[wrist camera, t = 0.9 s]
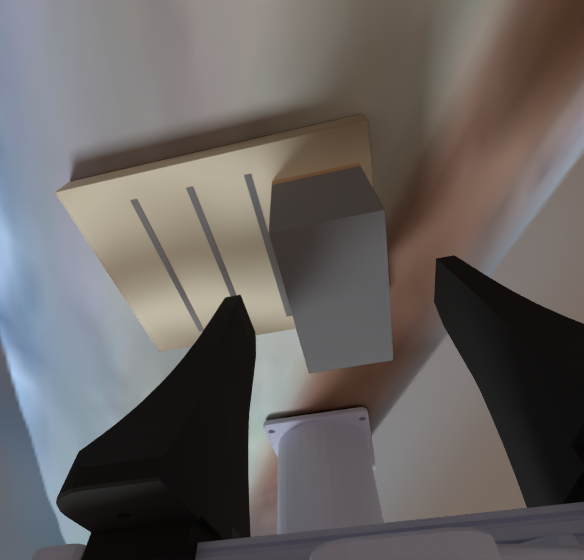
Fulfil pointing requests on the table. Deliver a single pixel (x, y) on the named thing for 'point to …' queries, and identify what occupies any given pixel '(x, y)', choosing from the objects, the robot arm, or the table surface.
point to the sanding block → (334, 266)
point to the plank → (204, 226)
